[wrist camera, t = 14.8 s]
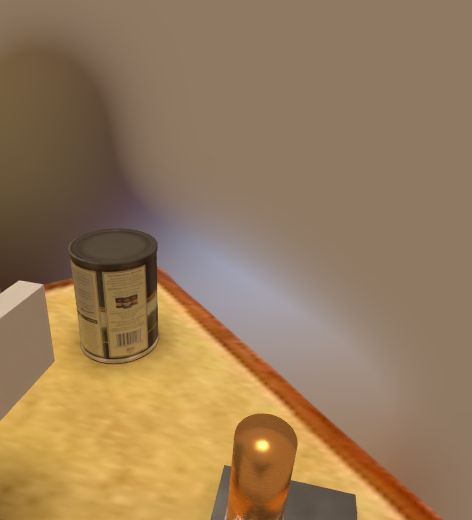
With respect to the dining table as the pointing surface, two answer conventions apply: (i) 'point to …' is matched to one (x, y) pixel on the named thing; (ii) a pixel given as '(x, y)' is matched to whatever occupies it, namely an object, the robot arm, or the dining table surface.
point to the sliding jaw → (261, 468)
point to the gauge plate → (298, 502)
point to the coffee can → (116, 293)
